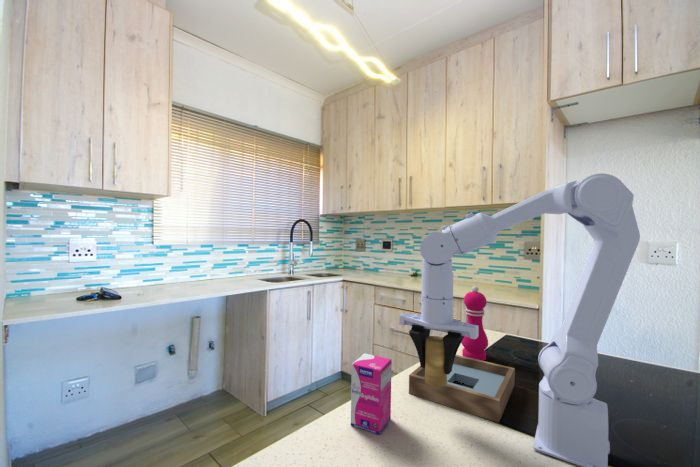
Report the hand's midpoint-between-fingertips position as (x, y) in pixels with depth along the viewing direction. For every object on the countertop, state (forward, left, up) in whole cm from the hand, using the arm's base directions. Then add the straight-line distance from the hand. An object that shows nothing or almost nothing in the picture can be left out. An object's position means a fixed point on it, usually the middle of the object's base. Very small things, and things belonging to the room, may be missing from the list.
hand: (436, 369), depth 60 cm
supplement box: (+9, +8, -10) cm, 16 cm away
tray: (-1, -15, -9) cm, 18 cm away
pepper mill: (+2, -36, -10) cm, 37 cm away
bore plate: (-1, -15, -9) cm, 18 cm away
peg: (0, 0, -2) cm, 2 cm away
